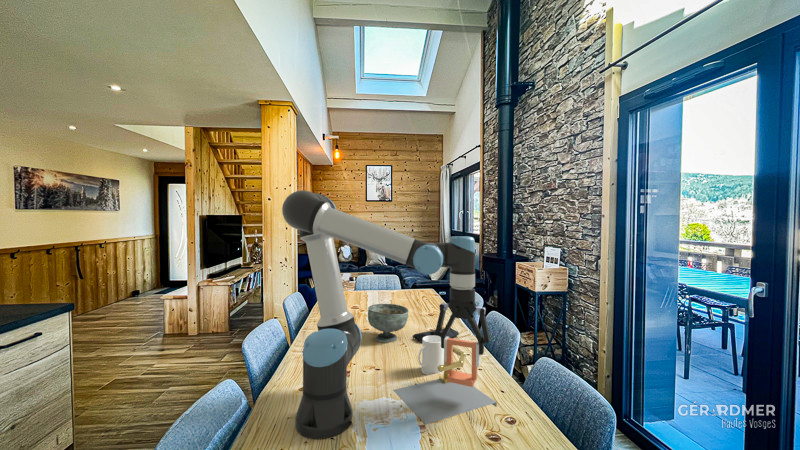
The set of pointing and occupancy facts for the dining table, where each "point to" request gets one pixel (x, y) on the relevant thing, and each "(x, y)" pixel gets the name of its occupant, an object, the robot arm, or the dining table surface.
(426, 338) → the mug
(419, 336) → the dark slate chunk
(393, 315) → the bowl
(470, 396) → the board
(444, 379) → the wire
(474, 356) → the orange rectangular frame
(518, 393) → the dining table surface
